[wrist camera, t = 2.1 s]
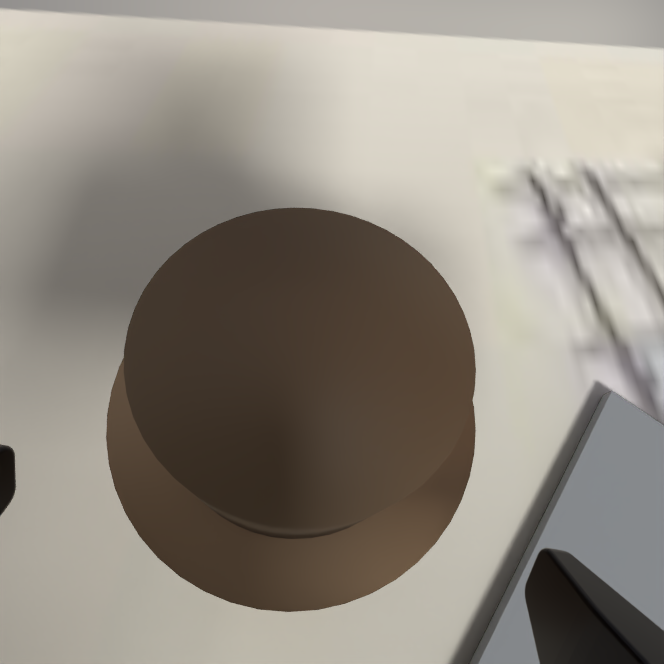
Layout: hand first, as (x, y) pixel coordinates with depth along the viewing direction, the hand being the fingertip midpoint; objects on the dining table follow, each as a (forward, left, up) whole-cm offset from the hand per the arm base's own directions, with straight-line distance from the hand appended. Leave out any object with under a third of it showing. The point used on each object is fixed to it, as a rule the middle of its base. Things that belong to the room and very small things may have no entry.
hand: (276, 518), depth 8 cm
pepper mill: (+1, +1, -9) cm, 9 cm away
